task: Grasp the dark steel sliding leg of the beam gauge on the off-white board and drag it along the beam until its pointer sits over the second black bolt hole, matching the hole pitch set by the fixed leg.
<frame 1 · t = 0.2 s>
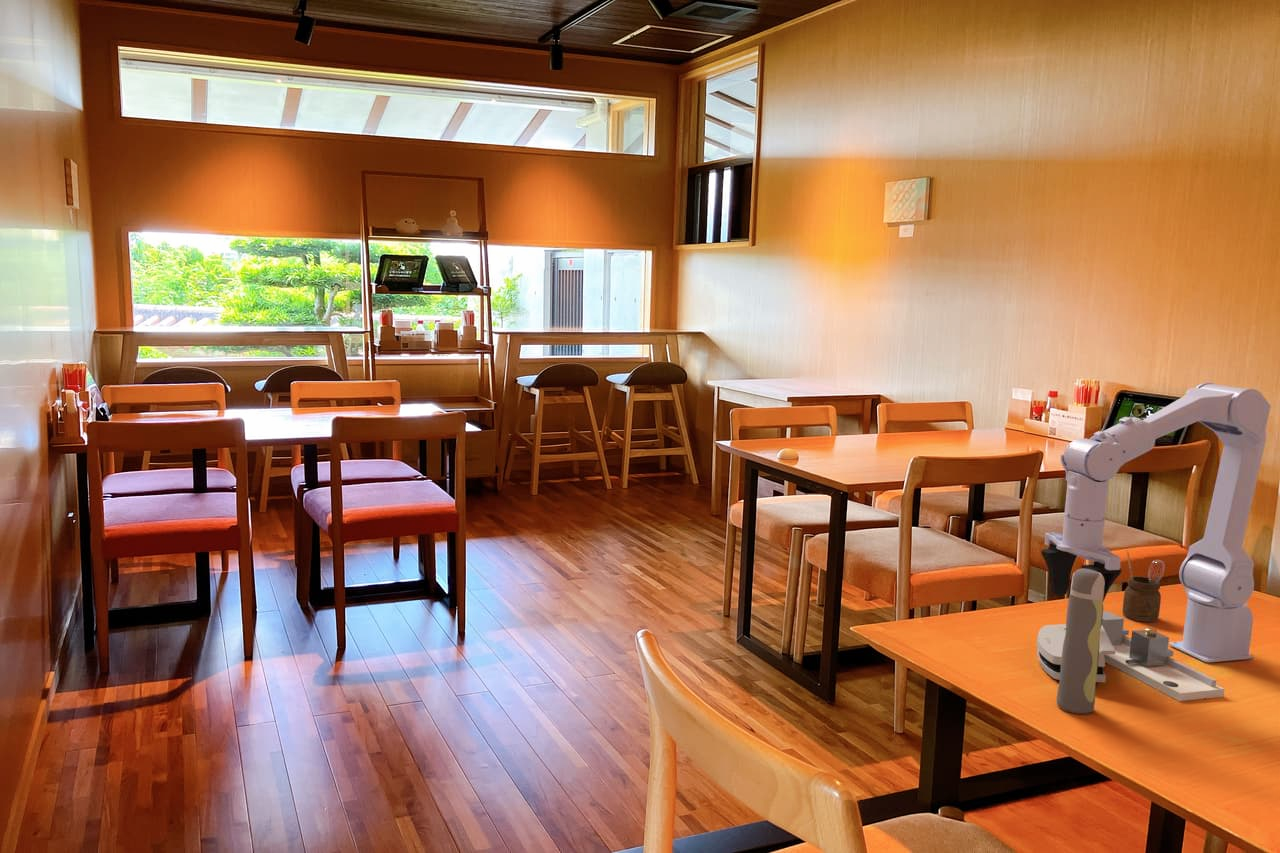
hand: (1076, 601, 154), 10 cm above the table, tool pointing down, fingers open, 7 cm apart
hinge: (1100, 656, 152), point 2 cm above the table, touching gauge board
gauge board: (1144, 669, 154), on the table
utensil holder: (1139, 618, 179), on the table
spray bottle: (1074, 709, 139), on the table
sliding leg: (1148, 645, 153), point 4 cm above the table, slide at 0.4 cm
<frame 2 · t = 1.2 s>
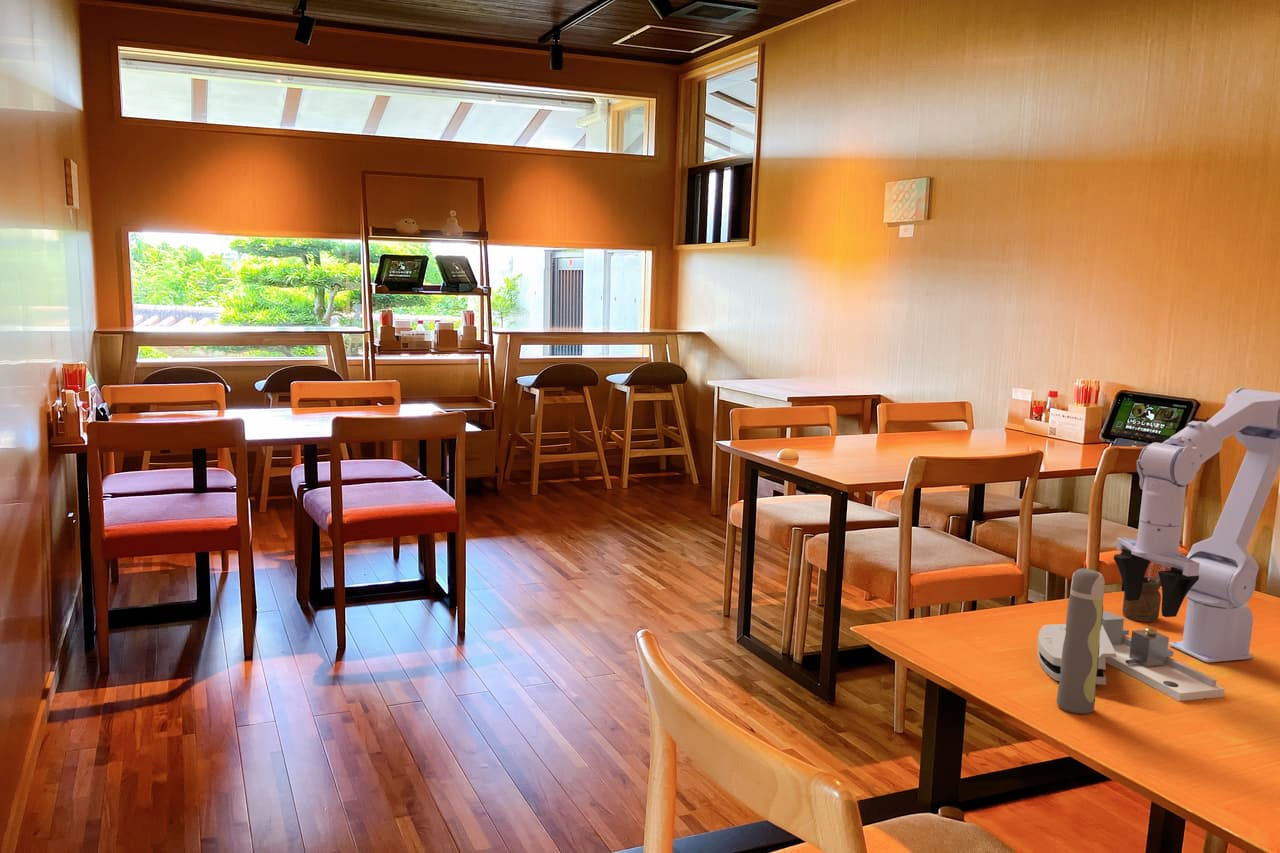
hand: (1150, 607, 153), 10 cm above the table, tool pointing down, fingers open, 7 cm apart
nothing on the table moved.
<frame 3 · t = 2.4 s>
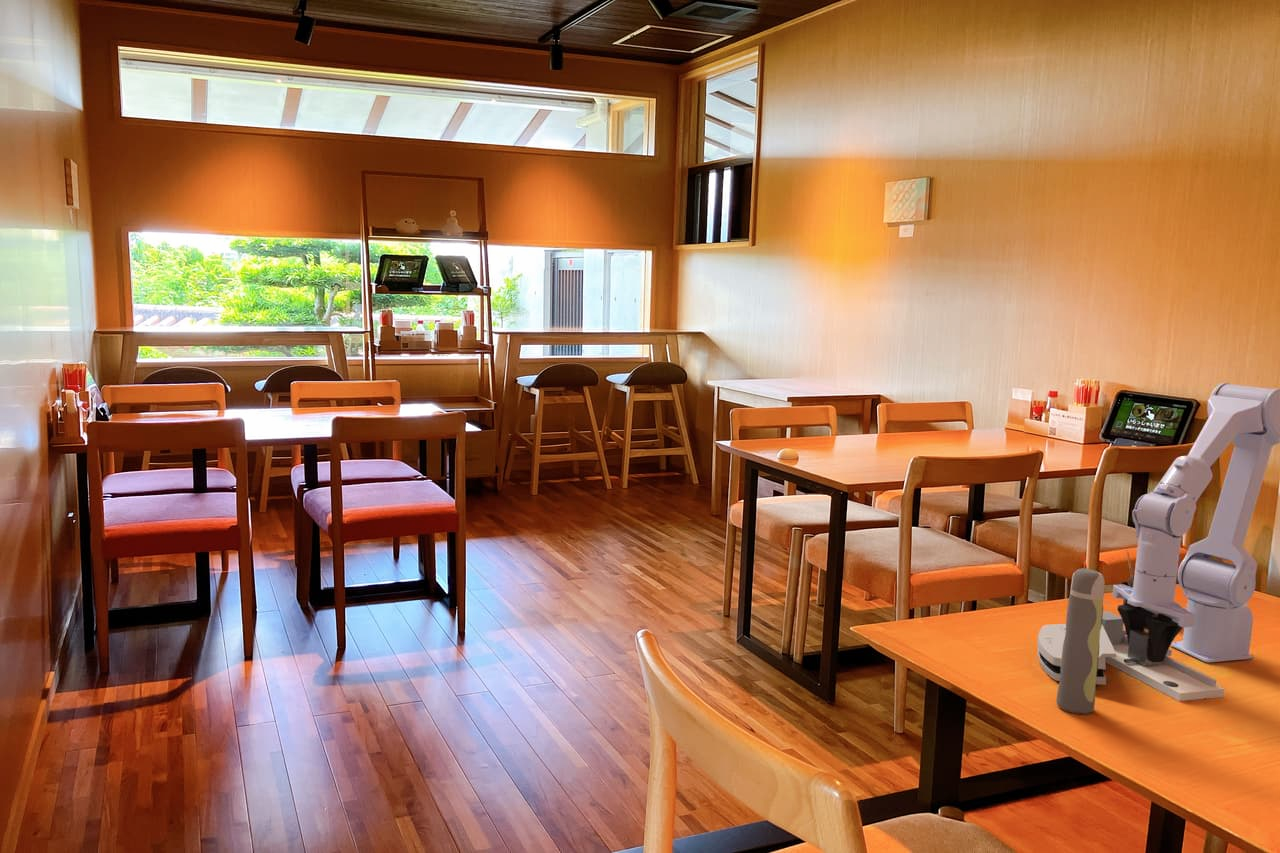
hand: (1146, 656, 154), 2 cm above the table, tool pointing down, fingers closed on sliding leg, 4 cm apart
sliding leg: (1146, 644, 153), point 4 cm above the table, slide at 0.0 cm, touching gripper
everything else where it was.
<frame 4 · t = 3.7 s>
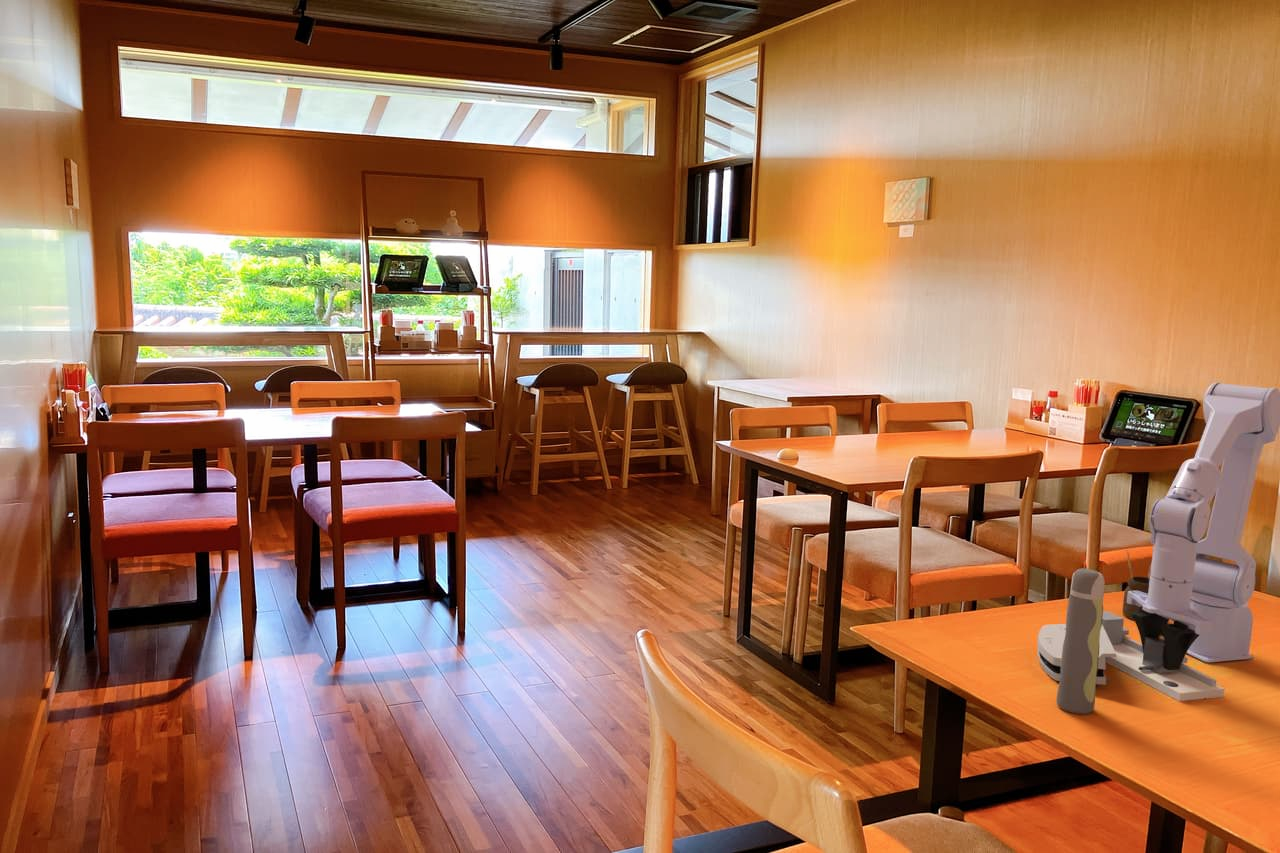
hand: (1161, 663, 151), 2 cm above the table, tool pointing down, fingers closed on sliding leg, 4 cm apart
sliding leg: (1162, 652, 150), point 4 cm above the table, slide at 3.1 cm, touching gripper
everything else where it was.
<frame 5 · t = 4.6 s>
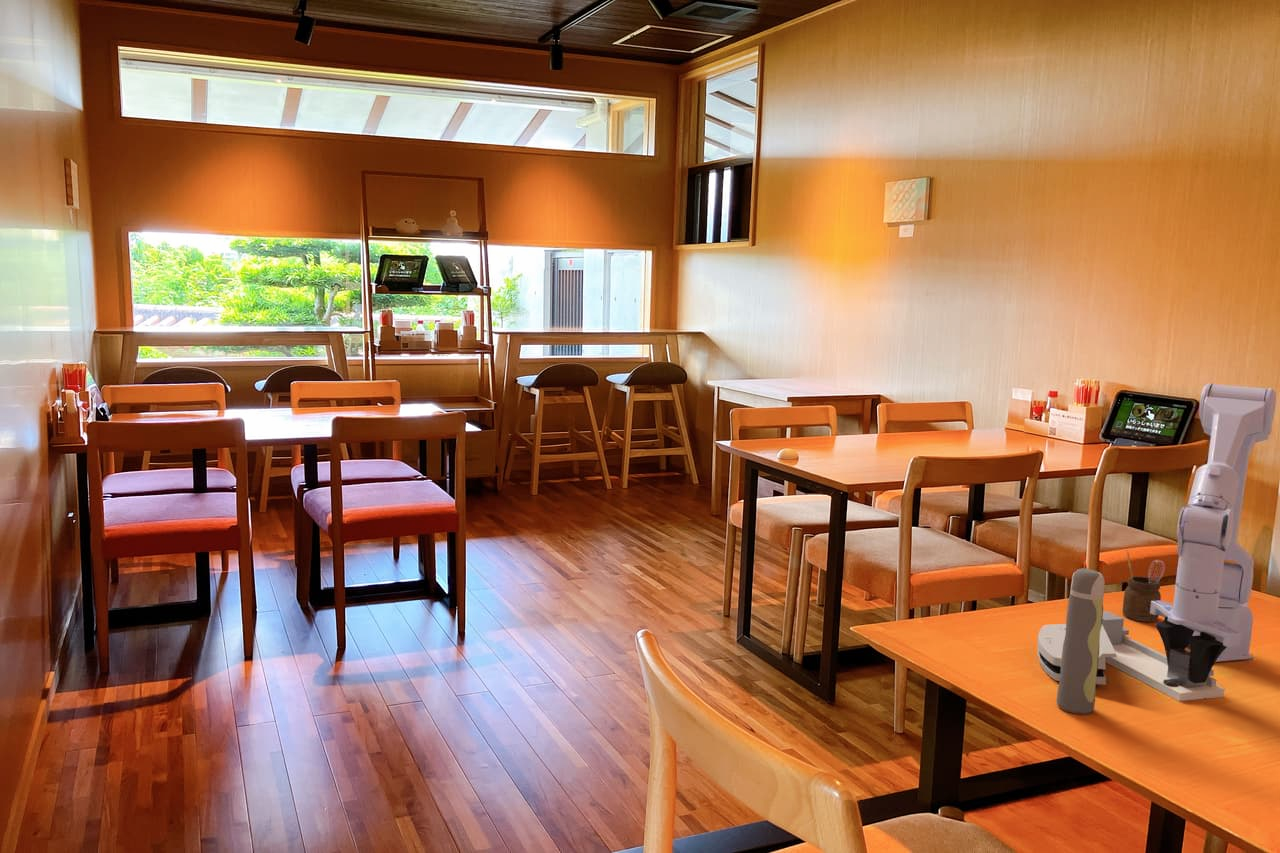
hand: (1186, 676, 146), 2 cm above the table, tool pointing down, fingers closed on sliding leg, 4 cm apart
sliding leg: (1187, 664, 146), point 4 cm above the table, slide at 8.0 cm, touching gripper
everything else where it was.
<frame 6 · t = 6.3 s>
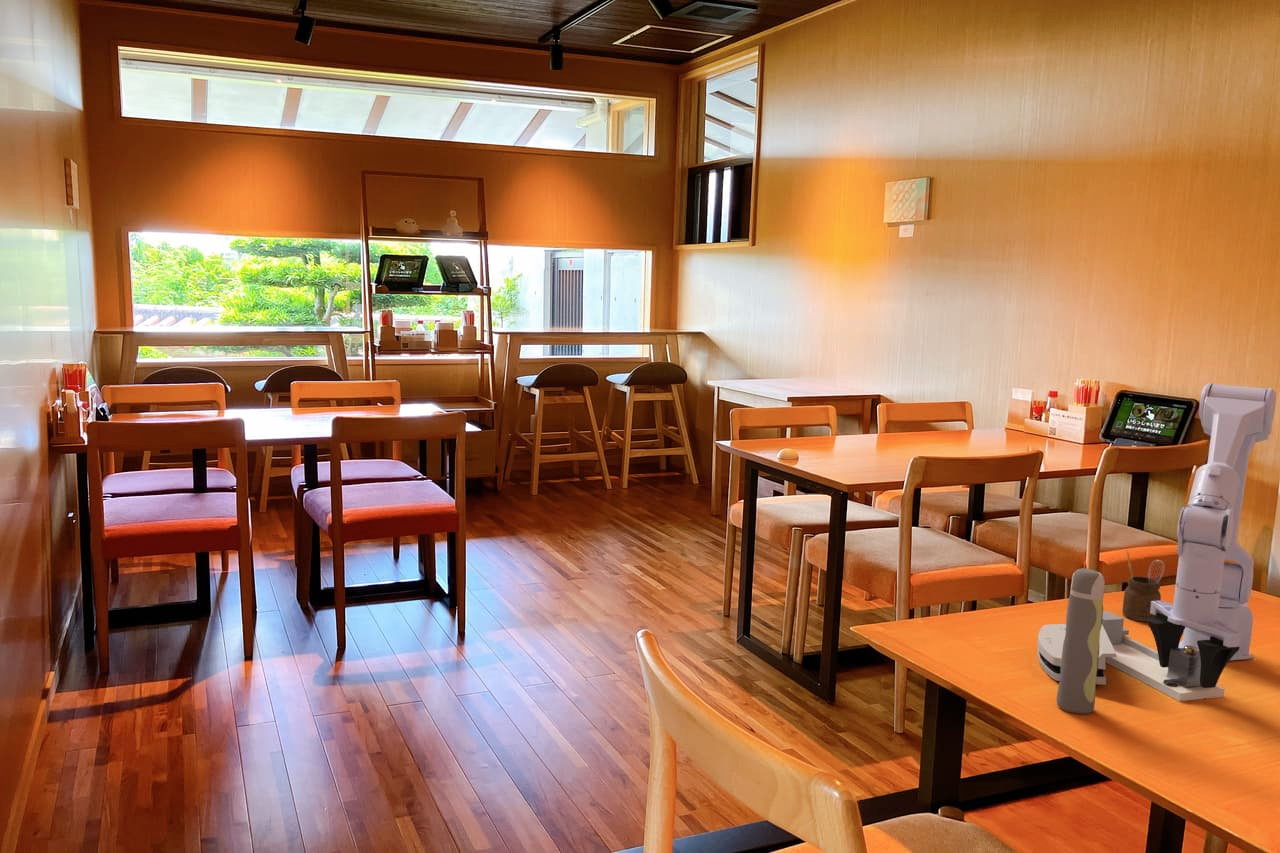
hand: (1186, 676, 146), 2 cm above the table, tool pointing down, fingers open, 7 cm apart
sliding leg: (1187, 664, 146), point 4 cm above the table, slide at 8.0 cm
everything else where it was.
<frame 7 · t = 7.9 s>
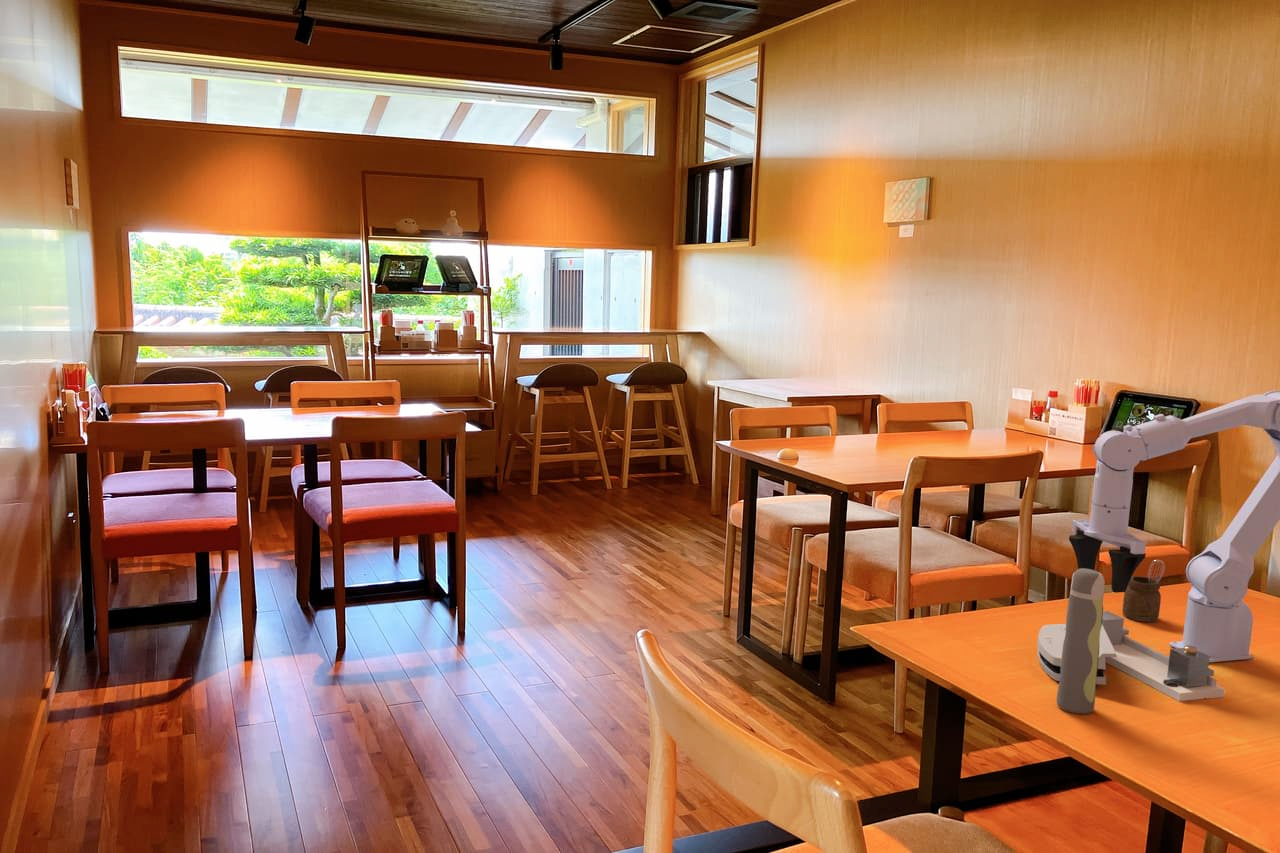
hand: (1102, 584, 164), 10 cm above the table, tool pointing down, fingers open, 7 cm apart
nothing on the table moved.
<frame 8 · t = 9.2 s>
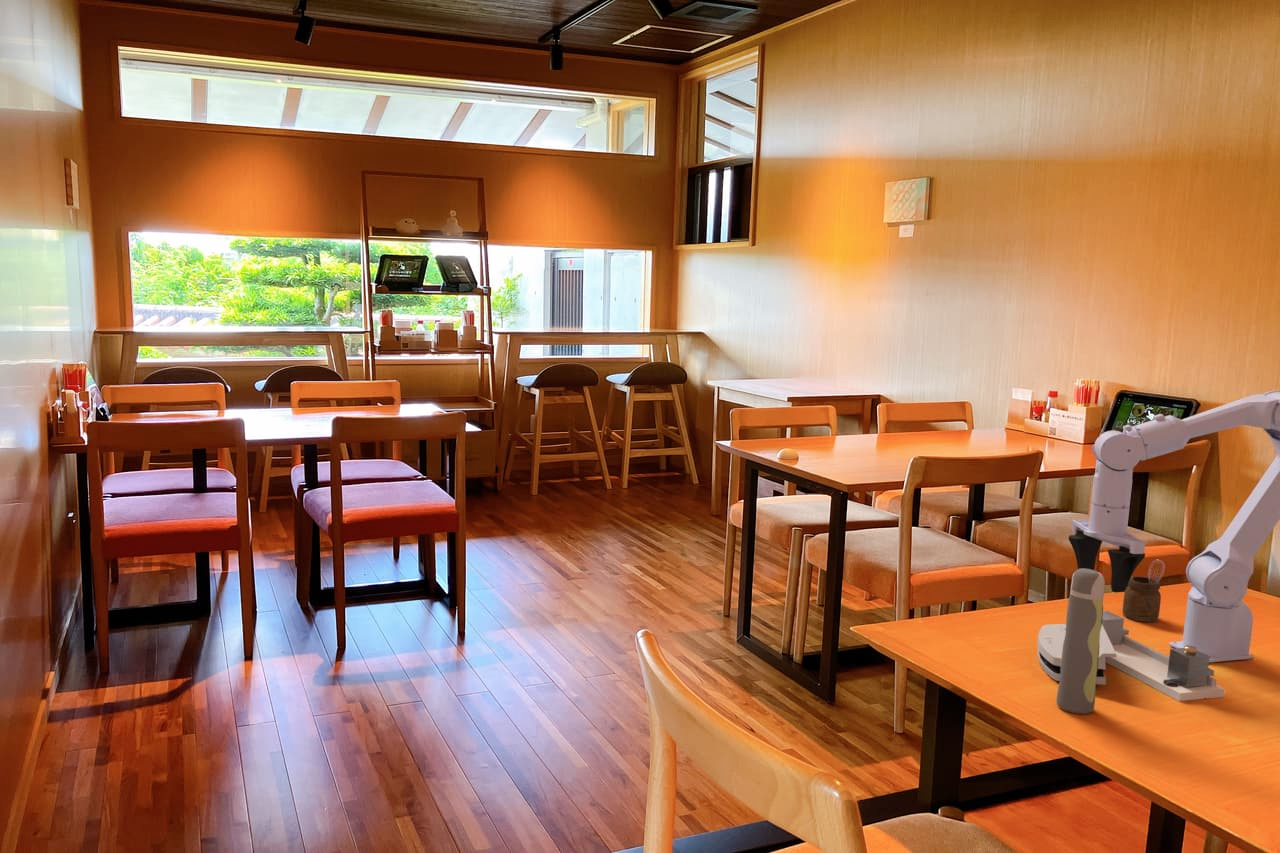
hand: (1101, 584, 164), 10 cm above the table, tool pointing down, fingers open, 7 cm apart
nothing on the table moved.
at the end: sliding leg slide at 8.0 cm; the gripper is holding nothing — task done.
